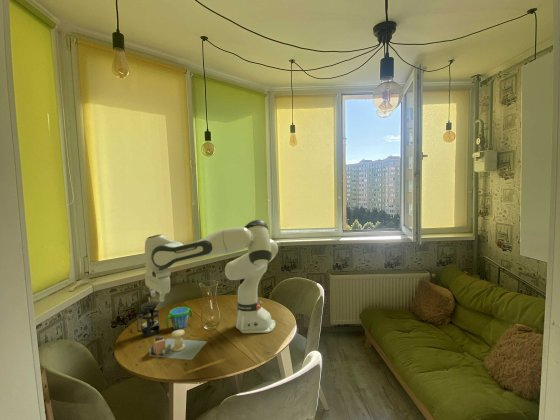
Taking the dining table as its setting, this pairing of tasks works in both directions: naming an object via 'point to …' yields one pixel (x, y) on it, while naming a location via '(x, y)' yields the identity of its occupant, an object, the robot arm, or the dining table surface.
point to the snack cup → (179, 317)
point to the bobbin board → (182, 347)
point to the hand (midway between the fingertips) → (157, 298)
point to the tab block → (159, 345)
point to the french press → (149, 318)
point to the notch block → (165, 350)
